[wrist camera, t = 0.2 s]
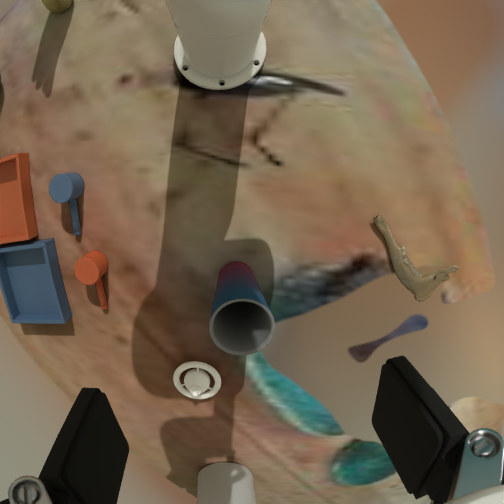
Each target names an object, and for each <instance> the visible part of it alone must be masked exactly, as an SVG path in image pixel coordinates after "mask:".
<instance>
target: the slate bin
mask: <svg viewBox="0 0 504 504" xmlns="http://www.w3.org/2000/svg"><path fill="white" fill-rule="evenodd" d="M0 286H1V289H2V293H3V296H4V300H5V303H6V306H7V309H8V312H9V315H10V318H11V321H12V323H30V324H65V323H66V322H67V321H68V320H69V318H70V317H71V316H72V314H71V310H70V307H69V303H68V299H67V295H66V292H65V288H64V284H63V280H62V275H61V271H60V267H59V262H58V257H57V253H56V248H55V242H54V238H52V239H45V240H37V241H30V242H23V243H16V244H9V245H2V246H0Z"/></svg>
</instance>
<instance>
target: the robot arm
mask: <svg viewBox="0 0 504 504" xmlns="http://www.w3.org/2000/svg"><path fill="white" fill-rule="evenodd" d="M270 2H271V0H166V3H167V5H168V8H169V11H170V14H171V16H172V19H173V22H174V25H175V28H176V30H177V33H178V36H177V38H176V41H175V44H174V57H175V61H176V64H177V67H178V68H179V70H180V72H181V73H182V74H183V75H184V77H185V78H187V79H188V80H189V81H190V82H192V83H194V84H196V85H197V86H200V87H203V88H206V89H213V90H225V89H230V88H234V87H237V86H240V85H242V84H244V83H245V82H247V81H249V80H250V79H251V78H252V77H253V76H255V75H256V73H257V72H258V71H259V70H260V68H261V66H262V64H263V62H264V59H265V56H266V41H265V38H264V35H263V33H262V31H261V30H262V27H263V24H264V21H265V18H266V15H267V12H268V9H269V6H270ZM255 63H257V64H258V65H257V66H256V65H254V64H255ZM185 68H188V70H186V71H185V70H184V69H185ZM221 83H224V85H223V86H221V85H220V84H221ZM372 424H373V427H374V429H375V431H376V433H377V435H378V437H379V439H380V441H381V442H382V444H383V446H384V448H385V450H386V452H387V454H388V456H389V457H390V459H391V461H392V463H393V465H394V467H395V469H396V471H397V473H398V475H399V476H400V478H401V480H402V482H403V484H404V486H405V488H406V490H407V492H408V493H409V494H412V493H413V494H414V496H415V498H416V499H418V498H421V497H423V496H425V495H427V494H428V495H429V497H430V499H431V503H430V504H504V441H503V439H502V437H501V436H500V435H499V434H498V433H497V432H496V431H494V430H491V429H487V428H481V429H477V430H474V431H473V432H471V433H469V432H468V431H467V429H466V428H465V427H464V426H463V424H462V423H461V422H460V421H459V419H458V418H457V417H456V416H455V415H454V413H453V412H452V411H451V410H450V408H449V407H448V406H447V405H446V404H445V403H444V401H443V400H442V399H441V398H440V397H439V395H438V394H437V393H436V392H435V390H434V389H433V388H432V387H431V386H429V384H428V383H427V382H426V381H425V379H424V378H423V377H422V376H421V375H420V374H419V372H418V371H417V370H416V369H415V368H414V367H413V365H412V364H411V363H410V362H409V361H408V360H407V358H406V357H404V356H399V357H395V358H391V359H388V360H387V361H386V364H384V365H383V366H382V369H381V375H380V380H379V386H378V391H377V396H376V401H375V406H374V410H373V415H372ZM128 453H129V445H128V442H127V440H126V438H125V436H124V434H123V432H122V430H121V428H120V426H119V424H118V422H117V419H116V417H115V415H114V413H113V410H112V408H111V406H110V404H109V401H108V399H107V396H106V394H105V393H102V392H101V391H100V389H98V388H82V389H81V391H80V393H79V395H78V397H77V399H76V401H75V402H74V404H73V406H72V408H71V410H70V412H69V414H68V416H67V418H66V420H65V422H64V424H63V426H62V428H61V430H60V432H59V434H58V436H57V438H56V441H55V443H54V445H53V447H52V449H51V451H50V453H49V456H48V457H47V460H46V462H45V464H44V466H43V469H42V471H41V473H40V475H39V478H36V477H33V476H22V477H20V478H18V479H16V480H15V481H14V482H13V483H12V484H11V486H10V487H9V491H8V497H9V498H8V499H6V500H3V501H1V502H0V504H117V499H118V495H119V491H120V486H121V482H122V478H123V474H124V470H125V465H126V461H127V457H128Z"/></svg>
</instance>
